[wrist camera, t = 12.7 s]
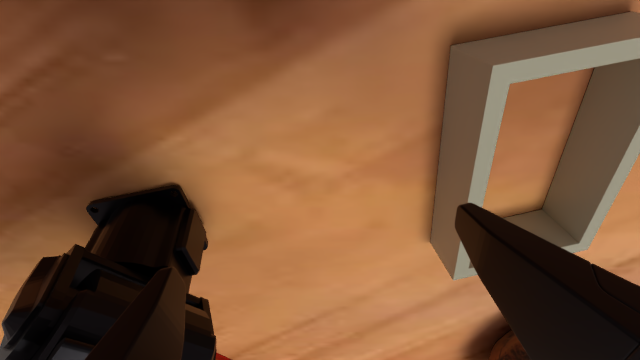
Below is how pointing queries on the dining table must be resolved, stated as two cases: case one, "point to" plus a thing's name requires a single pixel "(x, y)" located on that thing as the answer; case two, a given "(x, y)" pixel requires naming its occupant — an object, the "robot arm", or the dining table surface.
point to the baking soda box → (221, 357)
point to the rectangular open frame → (583, 143)
